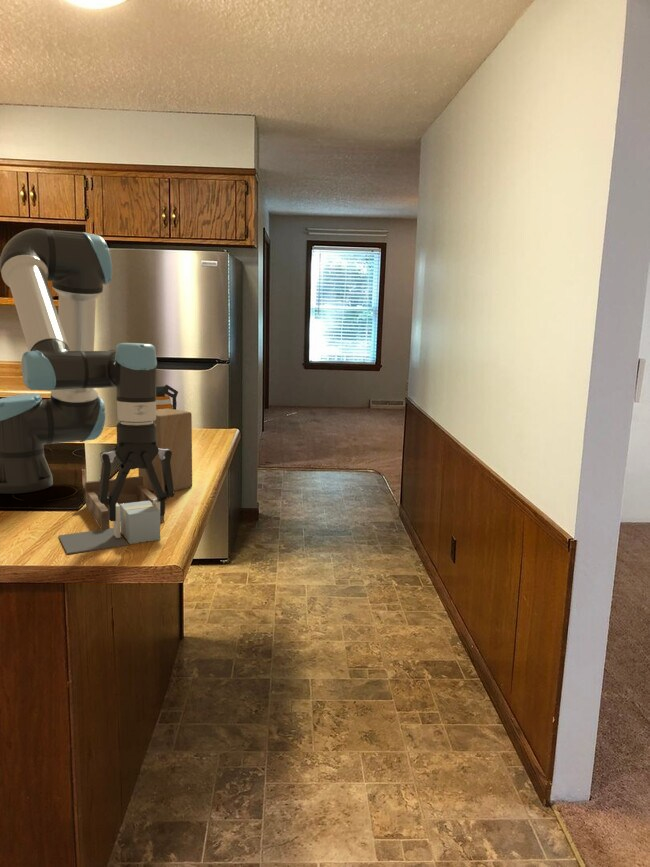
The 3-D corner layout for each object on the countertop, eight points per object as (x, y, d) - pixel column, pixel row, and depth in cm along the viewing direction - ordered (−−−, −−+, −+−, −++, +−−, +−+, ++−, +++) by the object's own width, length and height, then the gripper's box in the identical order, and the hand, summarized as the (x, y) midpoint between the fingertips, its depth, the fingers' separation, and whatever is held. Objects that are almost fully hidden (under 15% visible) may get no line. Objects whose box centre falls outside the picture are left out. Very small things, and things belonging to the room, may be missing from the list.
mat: (58, 536, 127) (58, 535, 127) (115, 529, 133) (115, 527, 133) (67, 554, 118) (67, 553, 118) (127, 545, 123) (127, 544, 123)
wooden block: (169, 480, 173) (168, 408, 170) (193, 487, 167) (192, 412, 164) (138, 487, 166) (136, 411, 162) (161, 494, 159) (160, 415, 156)
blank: (120, 532, 131) (119, 503, 130) (150, 528, 134) (149, 500, 133) (129, 544, 124) (128, 514, 123) (160, 539, 127) (160, 510, 126)
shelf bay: (86, 506, 148) (84, 481, 147) (142, 500, 154) (141, 476, 153) (102, 530, 132) (101, 502, 131) (164, 521, 138) (163, 494, 137)
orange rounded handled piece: (146, 438, 233) (145, 383, 230) (177, 437, 236) (176, 383, 233) (147, 442, 225) (146, 386, 221) (179, 441, 228) (179, 386, 225)
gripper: (86, 426, 117) (88, 545, 121) (192, 423, 127) (191, 532, 131) (79, 420, 124) (81, 534, 127) (180, 417, 134) (179, 522, 137)
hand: (137, 533), depth 129 cm, fingers open, 7 cm apart
